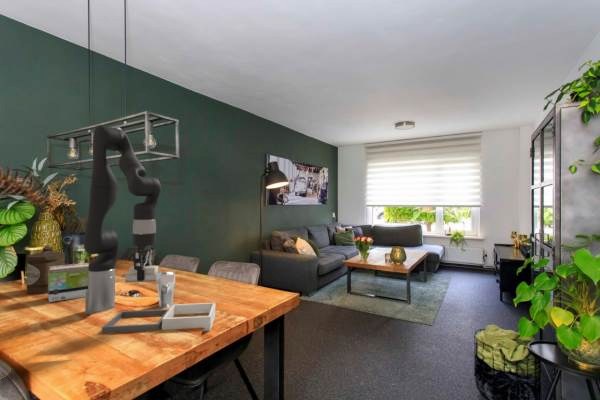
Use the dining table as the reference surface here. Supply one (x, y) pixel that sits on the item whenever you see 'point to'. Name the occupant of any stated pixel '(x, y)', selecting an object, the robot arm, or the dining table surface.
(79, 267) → the tea box
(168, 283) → the silver metal goblet
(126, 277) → the scoop
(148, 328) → the tray
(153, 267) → the off-white cube
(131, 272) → the light grey cube block
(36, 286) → the wooden container
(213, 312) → the bin
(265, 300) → the dining table surface
